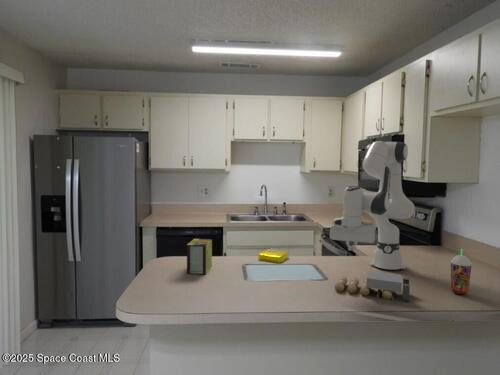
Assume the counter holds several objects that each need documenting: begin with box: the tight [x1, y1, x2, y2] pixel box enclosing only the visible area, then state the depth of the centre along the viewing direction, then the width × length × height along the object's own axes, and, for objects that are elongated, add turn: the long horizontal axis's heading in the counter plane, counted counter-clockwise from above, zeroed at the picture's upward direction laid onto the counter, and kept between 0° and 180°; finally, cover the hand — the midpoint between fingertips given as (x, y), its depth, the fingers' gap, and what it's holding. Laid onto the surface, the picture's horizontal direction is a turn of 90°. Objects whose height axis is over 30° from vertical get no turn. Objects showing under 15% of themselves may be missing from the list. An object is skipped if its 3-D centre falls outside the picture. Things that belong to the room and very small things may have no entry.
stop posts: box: [402, 277, 411, 303], centre depth 154 cm, size 11×2×7 cm, turn 157°
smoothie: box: [449, 248, 473, 295], centre depth 162 cm, size 8×8×20 cm
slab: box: [366, 270, 403, 293], centre depth 158 cm, size 12×14×4 cm
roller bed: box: [334, 275, 395, 301], centre depth 161 cm, size 12×25×4 cm, turn 67°
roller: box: [381, 290, 392, 301], centre depth 158 cm, size 12×4×4 cm, turn 157°
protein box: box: [186, 238, 213, 275], centre depth 191 cm, size 10×15×16 cm
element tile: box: [258, 248, 289, 264], centre depth 216 cm, size 15×15×5 cm
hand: (351, 250), depth 165 cm, fingers closed
